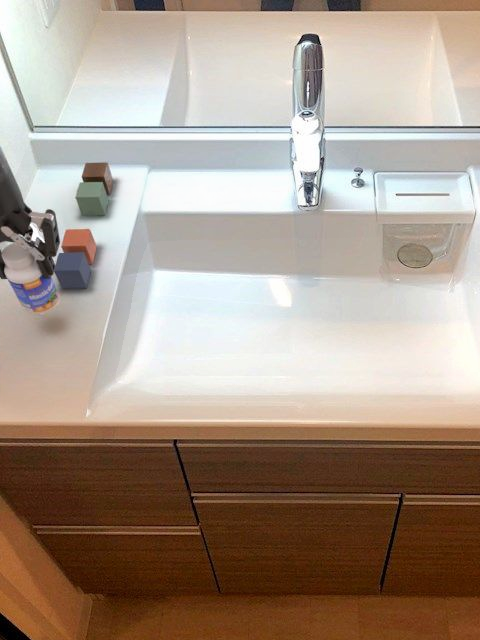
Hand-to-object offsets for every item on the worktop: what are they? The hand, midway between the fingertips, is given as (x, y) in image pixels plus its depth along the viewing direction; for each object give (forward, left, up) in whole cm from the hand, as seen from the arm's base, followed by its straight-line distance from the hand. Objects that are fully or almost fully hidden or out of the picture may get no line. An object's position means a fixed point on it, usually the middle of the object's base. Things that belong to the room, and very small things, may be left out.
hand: (27, 274), depth 88 cm
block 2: (-13, +24, -11) cm, 29 cm away
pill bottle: (0, 0, -6) cm, 6 cm away
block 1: (-15, +29, -11) cm, 35 cm away
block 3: (-6, +14, -11) cm, 19 cm away
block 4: (-4, +9, -11) cm, 15 cm away
